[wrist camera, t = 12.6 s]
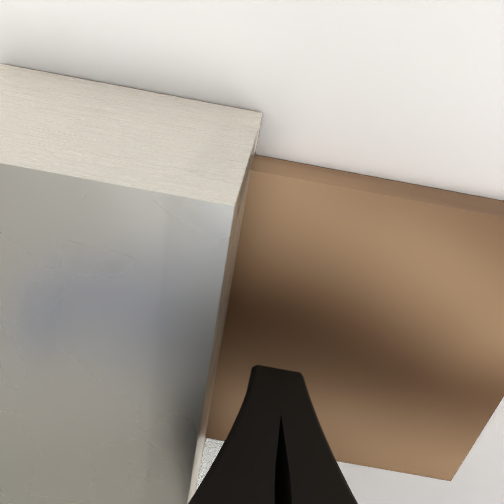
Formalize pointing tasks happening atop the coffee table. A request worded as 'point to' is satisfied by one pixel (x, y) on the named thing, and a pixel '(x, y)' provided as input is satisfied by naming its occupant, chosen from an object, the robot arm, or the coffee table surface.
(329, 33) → the coffee table surface
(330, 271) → the pin board
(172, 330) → the cover
